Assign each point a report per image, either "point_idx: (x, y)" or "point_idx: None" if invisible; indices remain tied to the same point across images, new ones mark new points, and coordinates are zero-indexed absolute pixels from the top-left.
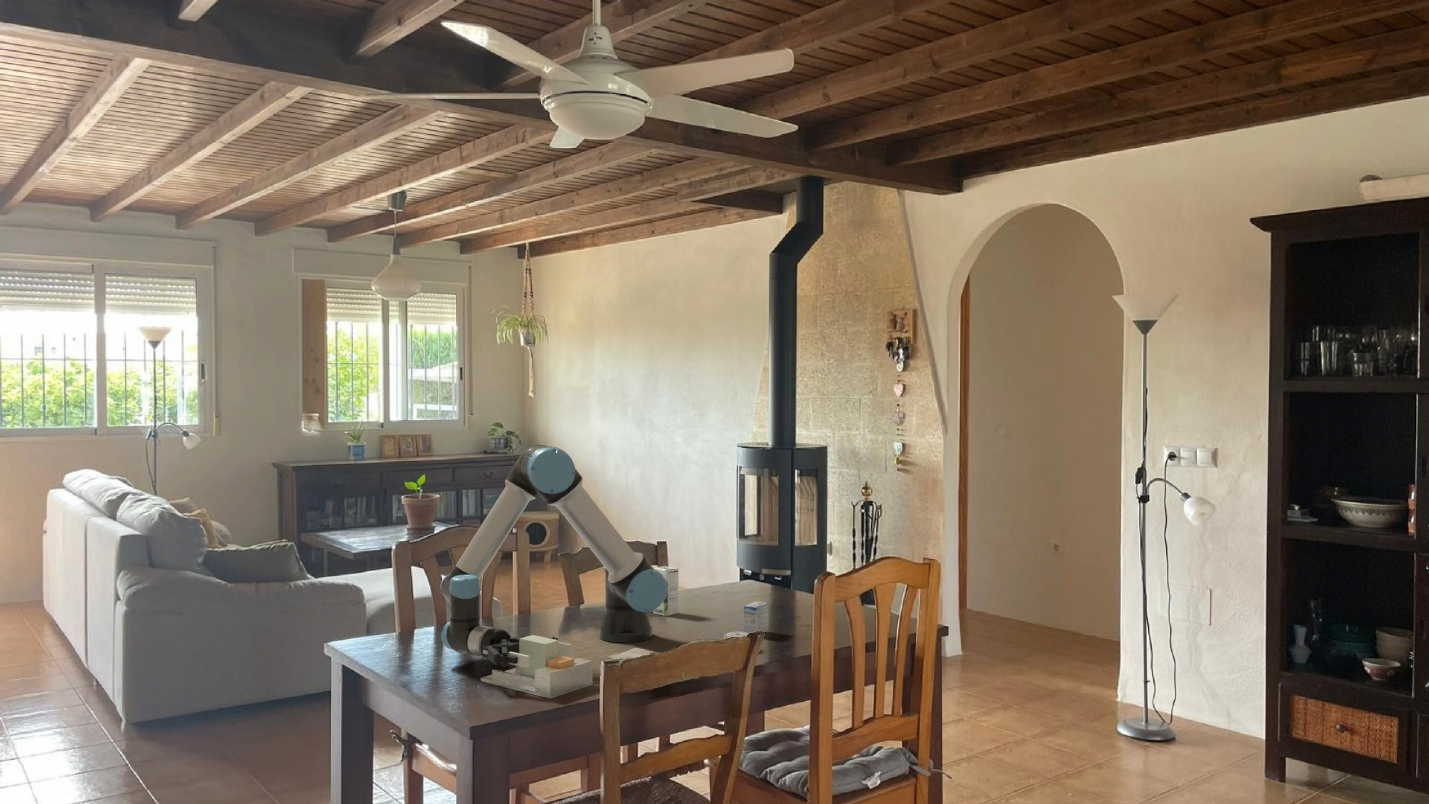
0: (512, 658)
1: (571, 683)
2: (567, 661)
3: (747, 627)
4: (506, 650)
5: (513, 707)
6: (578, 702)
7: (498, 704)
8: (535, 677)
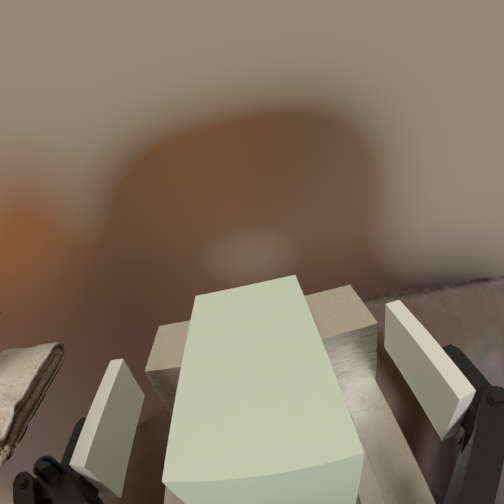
0: (459, 352)
1: None
2: None
3: None
4: (475, 457)
5: (457, 326)
6: None
7: (490, 353)
8: (376, 342)
